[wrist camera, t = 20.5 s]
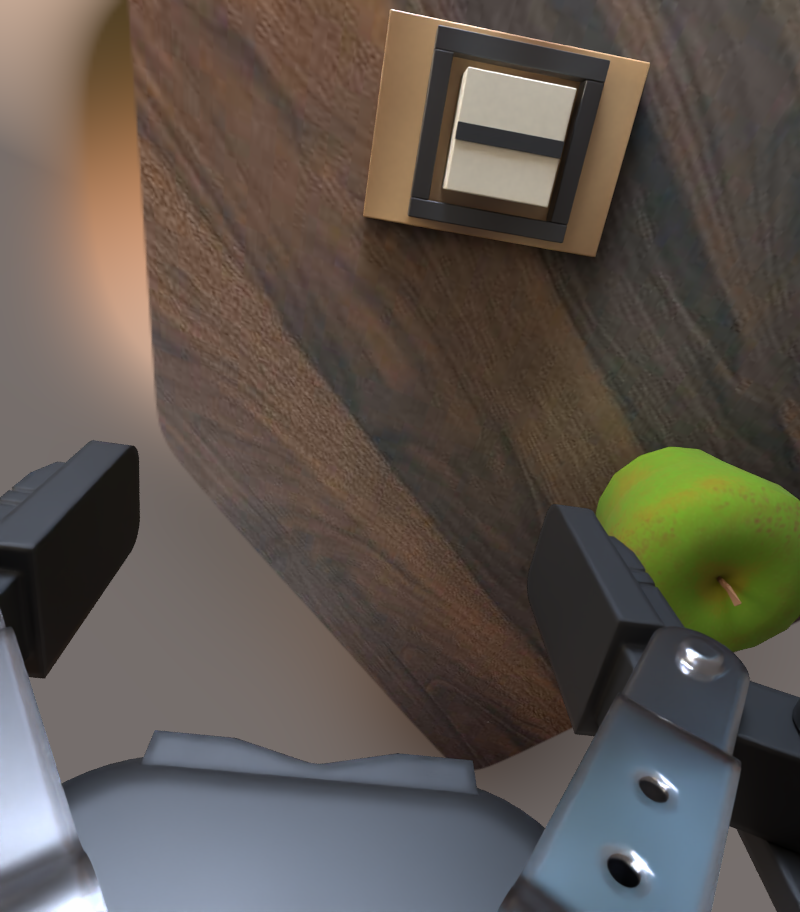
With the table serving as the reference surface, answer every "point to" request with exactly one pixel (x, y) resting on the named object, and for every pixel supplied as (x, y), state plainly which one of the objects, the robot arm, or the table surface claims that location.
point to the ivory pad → (507, 137)
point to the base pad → (431, 120)
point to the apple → (710, 542)
